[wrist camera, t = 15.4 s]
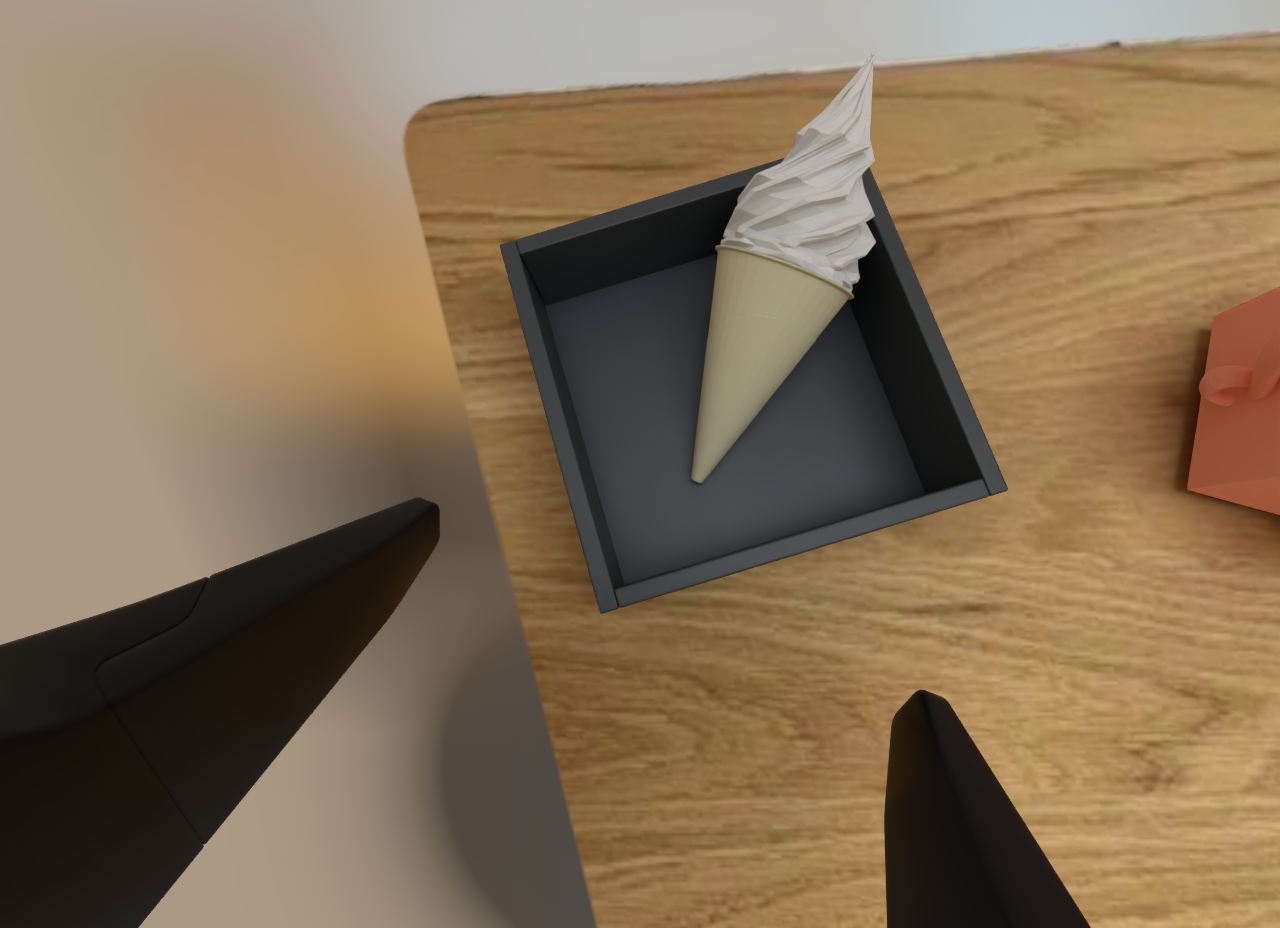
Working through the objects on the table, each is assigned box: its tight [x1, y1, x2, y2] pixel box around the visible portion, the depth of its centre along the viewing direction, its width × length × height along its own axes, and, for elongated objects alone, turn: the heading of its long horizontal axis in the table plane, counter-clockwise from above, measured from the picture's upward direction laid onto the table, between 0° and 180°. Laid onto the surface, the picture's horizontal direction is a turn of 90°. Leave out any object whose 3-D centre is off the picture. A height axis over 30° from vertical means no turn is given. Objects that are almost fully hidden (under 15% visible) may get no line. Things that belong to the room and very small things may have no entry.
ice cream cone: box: [691, 54, 876, 483], centre depth 19 cm, size 5×5×15 cm
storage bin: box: [500, 158, 1008, 613], centre depth 21 cm, size 13×13×5 cm
